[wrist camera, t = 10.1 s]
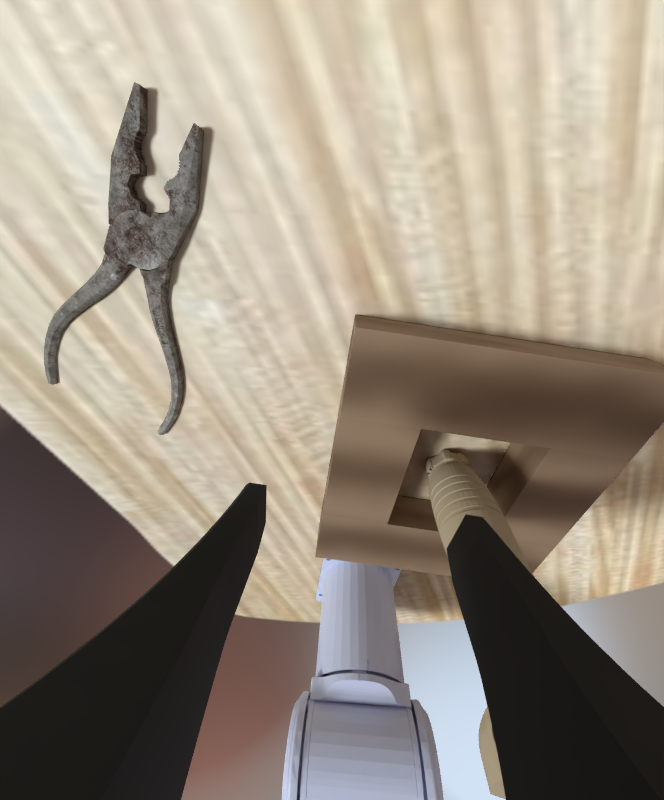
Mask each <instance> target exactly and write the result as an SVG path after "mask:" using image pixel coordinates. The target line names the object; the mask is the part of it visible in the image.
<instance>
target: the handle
mask: <svg viewBox="0 0 664 800" xmlns="http://www.w3.org/2000/svg"><path fill="white" fill-rule="evenodd" d="M470 465H471V464H470V462H469V461H468V460H467V459H466V457H465V456H464V455H463V454H461V453H452V452H450V451H449V450H443V451H441V452H440V453H439V454H438V455H436V456H434V457H432V458H429V459H428V460H427V462H426V471H427V474H428V480H429V481H428V486H429V494H430V500H431V504H432V509H433V513H434V517H435V521H436V524H437V527H438V531H439V534H440V537H441V540H442V543H443V546H444V548H445V551H446V554H447V547H448V545H449V543H450V542H451V540H452V538H453V536H454V534H455V533H456V531H457V529H458V527H459V525H460V524H461V522H462V520H463V518H464V516H465V515H473V516H480V517H483V518H484V519H485V520H486V521H487V523H488V524H489V525H490V526H491V527H492V528H493V530H494V531H495V532H496V533H497V534H498V535H499V537H500V538H501V539H502V540H503V541H504V543H505V544H506V545H507V546H508V547H509V548H510V550H511V551H512V552H513V553H514V554H515V556H516V557H517V558H518V559H519V560H520V561H521V563H522V564H523V565H524V566H525V567H526V568H527V570H528V571H529V572H530V573H531V574H532V572H531V570H530V568H529V566H528V564H527V562H526V559H525V557H524V555H523V553H522V551H521V549H520V547H519V545H518V543H517V541H516V538H515V536H514V534H513V532H512V530H511V528H510V526H509V524H508V522H507V520H506V518H505V516H504V515H503V513H502V511H501V509H500V508H499V506H498V504H497V502H496V501H495V499H494V497H493V496H492V494H491V493H490V491H489V490H488V488H487V487H486V485H485V484H484V482H483V481H482V480H481V478H480V477H479V476H478V475H477V474H476V472H475V471H474V470H473V469H472V468H471V467H470ZM447 557H448V555H447ZM532 575H533V574H532ZM479 747H480V753H481V757H482V761H483V765H484V770H485V773H486V777H487V781H488V785H489V790H490V794H493V795H495V796H498V797H501V798H504V799H506V797H505V791H504V786H503V780H502V775H501V769H500V764H499V759H498V754H497V749H496V744H495V739H494V734H493V729H492V724H491V719H490V715H489V710H488V707H487V708H486V710H485V712H484V714H483V717H482V720H481V723H480V728H479Z"/></svg>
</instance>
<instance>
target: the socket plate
mask: <svg viewBox="0 0 664 800" xmlns="http://www.w3.org/2000/svg"><path fill="white" fill-rule="evenodd" d="M663 422H664V365H662V364H659V363H657V362H654V361H651V360H649V359H645V358H638V357H632V356H625V355H618V354H612V353H605V352H599V351H592V350H585V349H579V348H572V347H566V346H559V345H552V344H546V343H539V342H532V341H526V340H519V339H513V338H506V337H499V336H493V335H486V334H480V333H473V332H466V331H460V330H453V329H446V328H440V327H433V326H427V325H420V324H413V323H407V322H400V321H394V320H387V319H380V318H374V317H367V316H361V315H355V319H354V325H353V331H352V337H351V343H350V348H349V354H348V360H347V366H346V372H345V378H344V384H343V389H342V395H341V401H340V407H339V413H338V419H337V425H336V430H335V436H334V442H333V448H332V454H331V460H330V465H329V471H328V477H327V483H326V489H325V495H324V501H323V506H322V512H321V518H320V524H319V531H318V540H317V548H316V556H315V557H319V558H326V559H333V560H340V561H347V562H354V563H361V564H368V565H375V566H382V567H389V568H396V569H402V570H409V571H416V572H423V573H430V574H437V575H444V576H451V572H450V567H449V561H448V557H447V554H446V551H445V548H444V546H443V543H442V540H441V537H440V534H439V531H438V527H437V524H436V521H435V517H434V513H433V509H432V504H431V501H429V500H423V499H416V498H409V497H402V496H397V495H398V493H399V490H400V487H401V484H402V481H403V479H404V476H405V473H406V470H407V467H408V465H409V462H410V459H411V456H412V453H413V451H414V448H415V445H416V442H417V439H418V437H419V434H420V431H421V429H424V430H431V431H438V432H445V433H451V434H458V435H465V436H472V437H478V438H485V439H492V440H499V441H505V442H512V443H511V445H510V446H509V448H508V450H507V452H506V453H505V455H504V457H503V459H502V460H501V462H500V464H499V466H498V467H497V469H496V471H495V473H494V474H493V476H492V478H491V480H490V481H489V483H488V485H487V488H488V490H489V491H490V493H491V494H492V496H493V497H494V499H495V501H496V502H497V504H498V506H499V508H500V509H501V511H502V513H503V515H504V516H505V518H506V520H507V522H508V524H509V526H510V528H511V530H512V532H513V534H514V536H515V538H516V541H517V543H518V545H519V547H520V549H521V551H522V553H523V555H524V557H525V559H526V562H527V564H528V566H529V568H530V570H531V572H532V573H533V572H534V571H535V569H536V568H537V567H538V566H539V565H540V564H541V563H542V561H543V560H544V559H545V558H546V557H547V556H548V555H549V553H550V552H551V551H552V550H553V549H554V548H555V546H556V545H557V544H558V543H559V542H560V541H561V540H562V538H563V537H564V536H565V535H566V534H567V533H568V532H569V530H570V529H571V528H572V527H573V526H574V525H575V523H576V522H577V521H578V520H579V519H580V518H581V517H582V515H583V514H584V513H585V512H586V511H587V510H588V508H589V507H590V506H591V505H592V504H593V503H594V502H595V500H596V499H597V498H598V497H599V496H600V495H601V494H602V492H603V491H604V490H605V489H606V488H607V487H608V485H609V484H610V483H611V482H612V481H613V480H614V479H615V477H616V476H617V475H618V474H619V473H620V472H621V471H622V469H623V468H624V467H625V466H626V465H627V464H628V462H629V461H630V460H631V459H632V458H633V457H634V456H635V454H636V453H637V452H638V451H639V450H640V449H641V448H642V446H643V445H644V444H645V443H646V442H647V441H648V439H649V438H650V437H651V436H652V435H653V434H654V433H655V431H656V430H657V429H658V428H659V427H660V426H661V425H662V423H663Z"/></svg>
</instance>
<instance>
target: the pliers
mask: <svg viewBox="0 0 664 800" xmlns="http://www.w3.org/2000/svg"><path fill="white" fill-rule="evenodd" d="M146 133H147V90H146V89H145V88H143V87H142V86H141V85H139V84H137V83H135V82H134V85H133V88H132V91H131V95H130V98H129V101H128V104H127V107H126V111H125V114H124V117H123V120H122V123H121V127H120V130H119V133H118V136H117V139H116V143H115V146H114V149H113V152H112V156H111V171H110V187H109V202H108V208H109V224H110V226H109V230H108V233H107V237H106V241H105V245H104V251H105V255H104V259H103V262H102V264H101V266H100V267H99V269H98V270H97V271H96V273H95V274H94V275H93V276H92V277H91V278H90V279H89V281H88V282H87V283H86V284H85V285H83V286H82V287H81V288H80V289H79V290H78V291H77V292H76V293H75V294H74V295H73V296H72V297H71V298H69V299H68V300H67V301H66V302H65V303H64V304H63V305H62V306H61V307H60V308H59V310H58V311H57V312H56V313H55V315H54V316H53V318H52V320H51V322H50V324H49V327H48V330H47V334H46V338H45V347H44V365H45V371H46V376H47V379H48V383H49V384H53V385H54V384H56V383H57V382H58V378H57V369H56V353H57V348H58V343H59V340H60V338H61V335H62V333H63V331H64V330H65V328H66V327H67V325H68V324H69V323H70V322H71V321H72V320H73V319H74V318H75V317H76V316H78V315H79V314H80V313H82V312H83V311H84V310H86V309H87V308H88V307H90V306H91V305H92V304H94V303H95V302H97V301H98V300H100V299H102V298H103V297H104V296H106V295H107V294H108V293H110V292H111V291H112V290H113V289H114V288H115V287H116V286H117V285H118V284H119V283H120V282H121V281H122V280H123V278H124V277H125V276H126V274H127V273H128V272H129V270H130V269H131V267H132V265H134V266H135V267H137V268H139V269H140V271H141V274H142V276H143V278H144V283H145V288H146V293H147V298H148V303H149V309H150V313H151V316H152V320H153V323H154V326H155V329H156V332H157V335H158V337H159V340H160V343H161V346H162V349H163V352H164V355H165V359H166V362H167V365H168V369H169V373H170V377H171V386H172V394H171V402H170V407H169V411H168V413H167V416H166V418H165V420H164V422H163V423H162V425H161V426H160V428H159V430H158V434H160V435H164V434H165V433H166V432H167V431H168V430H169V429H170V427H171V426H172V424H173V423H174V421H175V419H176V417H177V415H178V413H179V409H180V406H181V402H182V396H183V373H182V367H181V362H180V358H179V353H178V349H177V345H176V341H175V337H174V332H173V328H172V323H171V318H170V312H169V304H168V290H169V283H170V276H171V270H172V264H173V259H174V258H175V256H176V254H177V252H178V250H179V248H180V246H181V244H182V242H183V240H184V238H185V236H186V234H187V232H188V230H189V228H190V226H191V224H192V222H193V220H194V218H195V216H196V214H197V212H198V207H199V193H200V179H201V165H202V151H203V136H204V131H203V130H202V129H201V128H200V127H199V126H197V125H196V124H195V123H194V124H193V126H192V128H191V130H190V133H189V135H188V137H187V139H186V141H185V144H184V146H183V148H182V150H181V152H180V154H179V157H180V158H179V160H180V162H179V163H180V165H179V167H180V168H179V171H178V174H177V176H175V177H174V179H172V180H169V181H167V183H166V185H165V187H164V190H165V192H166V193H167V195H168V197H169V199H170V210H169V211H168V212H166V213H165V214H161V213H157V212H153V213H152V216H151V215H150V214H148V213H147V212H146V204H145V203H144V202H143V201H142V200H141V199H140V198H139V197H138V196H137V193H136V190H135V187H134V185H135V182H136V180H137V177H139V176H147V166H146V164H145V161H144V158H143V155H142V151H141V150H142V148H141V147H142V145H141V144H142V141H143V138H144V136H146ZM134 210H135V211H134Z"/></svg>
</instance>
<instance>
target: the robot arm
mask: <svg viewBox="0 0 664 800" xmlns="http://www.w3.org/2000/svg"><path fill="white" fill-rule="evenodd" d="M265 523H266V485H261V484H254V483H248V484H247V485H246V486H245V487H244V489H243V490H242V491H241V493H240V494H239V495H238V497H237V498H236V499H235V500H234V502H233V503H232V504H231V505H230V507H229V508H228V509H227V510H226V511H225V513H224V514H223V515H222V516H221V517H220V518H219V519H218V521H217V522H216V523H215V524H214V525H213V526H212V527H211V528H210V530H209V531H208V532H207V533H206V534H205V535H204V536H203V537H202V538H201V539H200V541H199V542H198V543H197V544H196V545H195V546H194V547H193V548H192V549H191V550H190V551H189V552H188V553H187V554H186V555H185V556H184V557H183V558H182V559H181V560H180V561H179V562H178V563H177V564H176V565H175V566H174V567H173V568H172V569H171V570H170V571H169V572H168V573H167V574H166V575H165V576H163V578H161V579H160V580H159V581H158V582H157V583H156V584H155V585H154V586H153V587H152V588H151V589H149V590H148V591H147V592H146V593H145V594H144V595H143V596H142V597H140V598H139V599H138V600H137V601H136V602H135V603H134V604H132V605H131V606H130V607H129V608H128V609H127V610H125V611H124V612H123V613H122V614H121V615H119V616H118V617H117V618H116V619H115V620H114V621H112V622H111V623H110V624H109V625H108V626H106V627H105V628H104V629H103V630H101V631H100V632H99V633H98V634H97V635H95V636H94V637H93V638H91V639H90V640H89V641H88V642H86V643H85V644H84V645H83V646H81V647H80V648H79V649H77V650H76V651H75V652H74V653H72V654H71V655H70V656H68V657H67V658H66V659H65V660H63V661H62V662H61V663H59V664H58V665H57V666H56V667H54V668H53V669H52V670H50V671H49V672H48V673H47V674H45V675H44V676H43V677H41V678H40V679H39V680H37V681H36V682H35V683H33V684H32V685H30V686H29V687H28V688H26V689H25V690H24V691H22V692H21V693H19V694H18V695H17V696H16V697H14V698H12V699H11V700H10V701H8V702H7V703H6V704H4V705H3V706H2V707H0V800H181V797H182V793H183V790H184V786H185V782H186V778H187V775H188V771H189V767H190V763H191V760H192V756H193V753H194V749H195V745H196V742H197V737H198V734H199V731H200V727H201V723H202V720H203V716H204V713H205V709H206V706H207V702H208V699H209V695H210V691H211V688H212V685H213V681H214V678H215V674H216V670H217V667H218V664H219V660H220V657H221V653H222V650H223V647H224V643H225V640H226V637H227V634H228V631H229V628H230V625H231V622H232V620H233V617H234V614H235V612H236V609H237V606H238V604H239V601H240V598H241V596H242V593H243V590H244V588H245V585H246V582H247V580H248V577H249V574H250V572H251V569H252V566H253V564H254V561H255V558H256V555H257V553H258V549H259V546H260V542H261V538H262V534H263V531H264V527H265ZM447 555H448V561H449V567H450V572H451V577H452V581H453V585H454V588H455V592H456V595H457V598H458V602H459V605H460V608H461V611H462V615H463V618H464V621H465V624H466V628H467V631H468V634H469V637H470V641H471V644H472V646H473V650H474V654H475V657H476V660H477V664H478V667H479V671H480V675H481V679H482V683H483V688H484V692H485V696H486V701H487V706H488V710H489V715H490V719H491V724H492V729H493V734H494V739H495V744H496V749H497V754H498V759H499V764H500V769H501V775H502V780H503V786H504V791H505V797H506V800H664V707H663V706H662V705H661V704H660V703H659V702H657V701H656V700H655V699H654V698H653V697H652V696H651V695H650V694H649V693H647V692H646V691H645V690H644V689H643V688H642V687H641V686H640V685H639V684H638V683H636V682H635V680H633V679H632V678H631V677H630V676H629V675H628V674H627V673H626V672H625V671H624V670H623V669H622V668H621V667H620V666H619V665H618V664H617V663H616V662H615V661H614V660H613V659H612V658H611V657H610V656H609V655H607V654H606V653H605V652H604V651H603V650H602V649H601V648H600V647H599V646H598V645H597V644H596V643H595V642H594V641H593V640H592V639H591V638H590V637H589V636H588V635H587V634H586V633H585V632H584V631H583V630H582V629H581V628H580V627H579V625H578V624H577V623H576V622H575V621H574V620H573V619H572V618H571V617H570V616H569V615H568V614H567V613H566V612H565V611H564V610H563V608H562V607H561V606H560V605H559V604H558V603H557V602H556V601H555V600H554V599H553V598H552V597H551V595H550V594H549V593H548V592H547V591H546V590H545V589H544V588H543V587H542V585H541V584H540V583H539V582H538V581H537V580H536V579H535V578H534V576H533V575H532V574H531V573H530V572H529V571H528V570H527V568H526V567H525V566H524V565H523V564H522V563H521V561H520V560H519V559H518V558H517V557H516V556H515V554H514V553H513V552H512V551H511V550H510V548H509V547H508V546H507V545H506V544H505V543H504V541H503V540H502V539H501V538H500V537H499V535H498V534H497V533H496V532H495V531H494V530H493V528H492V527H491V526H490V525H489V524H488V523H487V521H486V520H485V519H484V518H483V517H480V516H473V515H465V516H464V518H463V520H462V522H461V524H460V525H459V527H458V529H457V531H456V533H455V534H454V536H453V538H452V540H451V542H450V543H449V545H448V547H447ZM401 570H402V569H396V568H389V567H382V566H375V565H368V564H361V563H354V562H347V561H340V560H333V559H326V558H324V559H323V564H322V569H321V574H320V579H319V584H318V589H317V594H316V600H317V601H320V602H322V609H321V621H320V633H319V644H318V656H317V668H316V677H312V681H311V691H310V692H307V691H304V692H303V693H302V694H301V697H300V698H299V699H298V700H297V702H296V703H295V706H294V708H293V712H292V717H291V722H290V727H289V733H288V740H287V747H286V756H285V764H284V775H283V776H284V777H283V789H282V800H443V791H442V783H441V775H440V768H439V763H438V756H437V751H436V745H435V740H434V736H433V731H432V727H431V723H430V720H429V717H428V715H427V713H426V711H425V710H424V709H423V707H422V706H421V704H420V702H419V701H418V700H411V699H410V691H409V685H408V684H406V683H404V676H403V668H402V660H401V651H400V643H399V634H398V626H397V617H396V609H395V600H394V592H393V588H394V586H395V584H396V581H397V579H398V577H399V575H400V573H401Z"/></svg>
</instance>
